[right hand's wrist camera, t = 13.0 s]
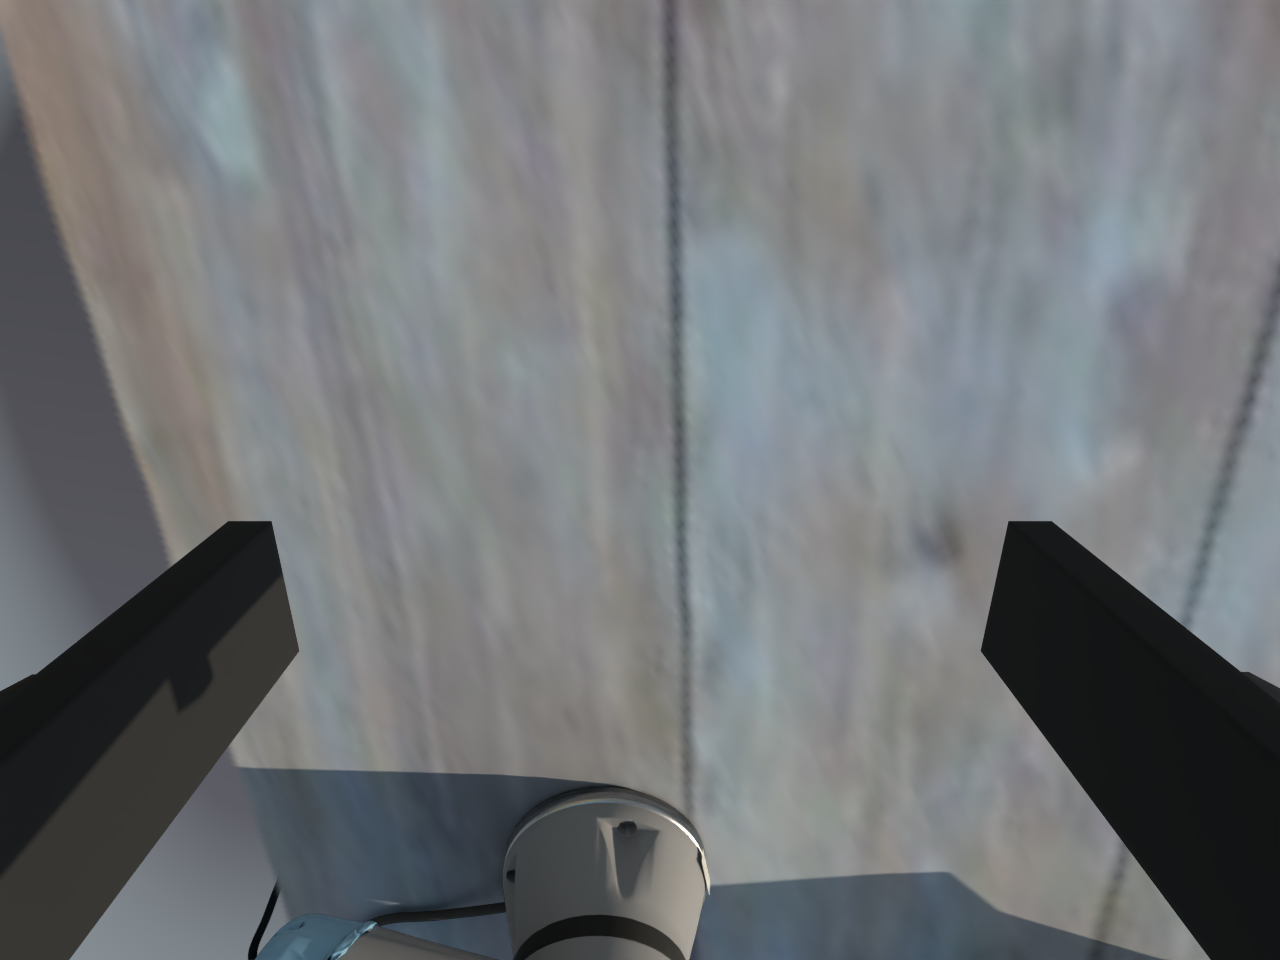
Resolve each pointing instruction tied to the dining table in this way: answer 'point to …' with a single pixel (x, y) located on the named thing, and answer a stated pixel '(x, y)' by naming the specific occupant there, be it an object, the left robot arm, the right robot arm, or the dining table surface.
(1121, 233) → the dining table surface
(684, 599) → the dining table surface
